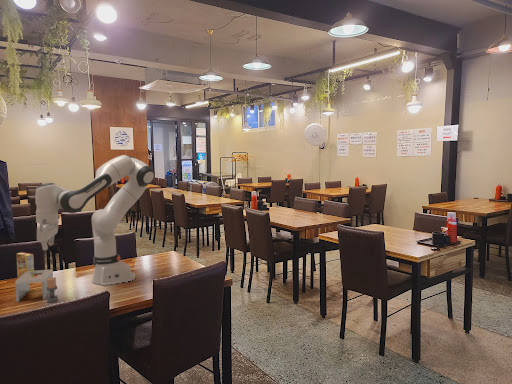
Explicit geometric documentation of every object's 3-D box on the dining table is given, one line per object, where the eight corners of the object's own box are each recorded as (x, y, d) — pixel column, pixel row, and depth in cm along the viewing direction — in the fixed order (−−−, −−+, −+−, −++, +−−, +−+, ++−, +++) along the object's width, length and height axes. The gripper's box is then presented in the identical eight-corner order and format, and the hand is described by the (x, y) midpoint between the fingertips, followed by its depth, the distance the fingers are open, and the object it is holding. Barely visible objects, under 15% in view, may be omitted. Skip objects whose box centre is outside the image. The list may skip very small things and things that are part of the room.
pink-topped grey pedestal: (58, 298, 170) (57, 276, 169) (56, 302, 166) (55, 279, 165) (48, 299, 169) (47, 277, 168) (46, 303, 164) (44, 280, 163)
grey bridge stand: (53, 288, 184) (52, 269, 183) (45, 299, 169) (44, 279, 168) (27, 290, 180) (26, 271, 179) (16, 302, 166) (15, 281, 165)
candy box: (17, 281, 194) (15, 253, 192) (25, 278, 197) (23, 251, 196) (27, 283, 190) (26, 255, 188) (35, 281, 194) (33, 253, 192)
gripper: (48, 221, 155) (49, 252, 156) (60, 214, 174) (61, 242, 176) (32, 222, 153) (33, 253, 154) (46, 214, 173) (47, 242, 174)
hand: (48, 247), depth 165 cm, fingers open, 8 cm apart
